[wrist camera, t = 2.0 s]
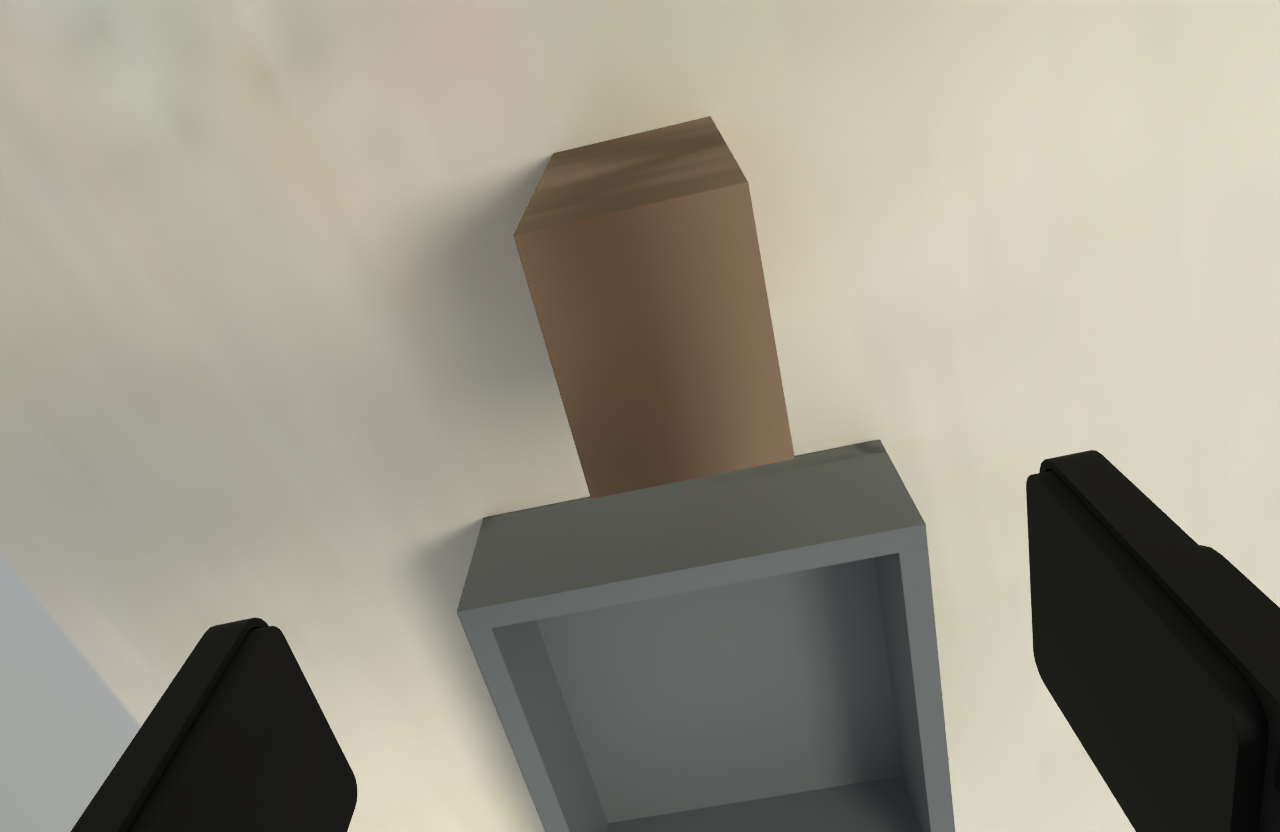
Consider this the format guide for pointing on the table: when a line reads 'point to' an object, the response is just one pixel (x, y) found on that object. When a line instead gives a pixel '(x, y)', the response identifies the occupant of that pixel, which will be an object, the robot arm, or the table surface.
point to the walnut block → (655, 309)
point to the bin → (720, 653)
